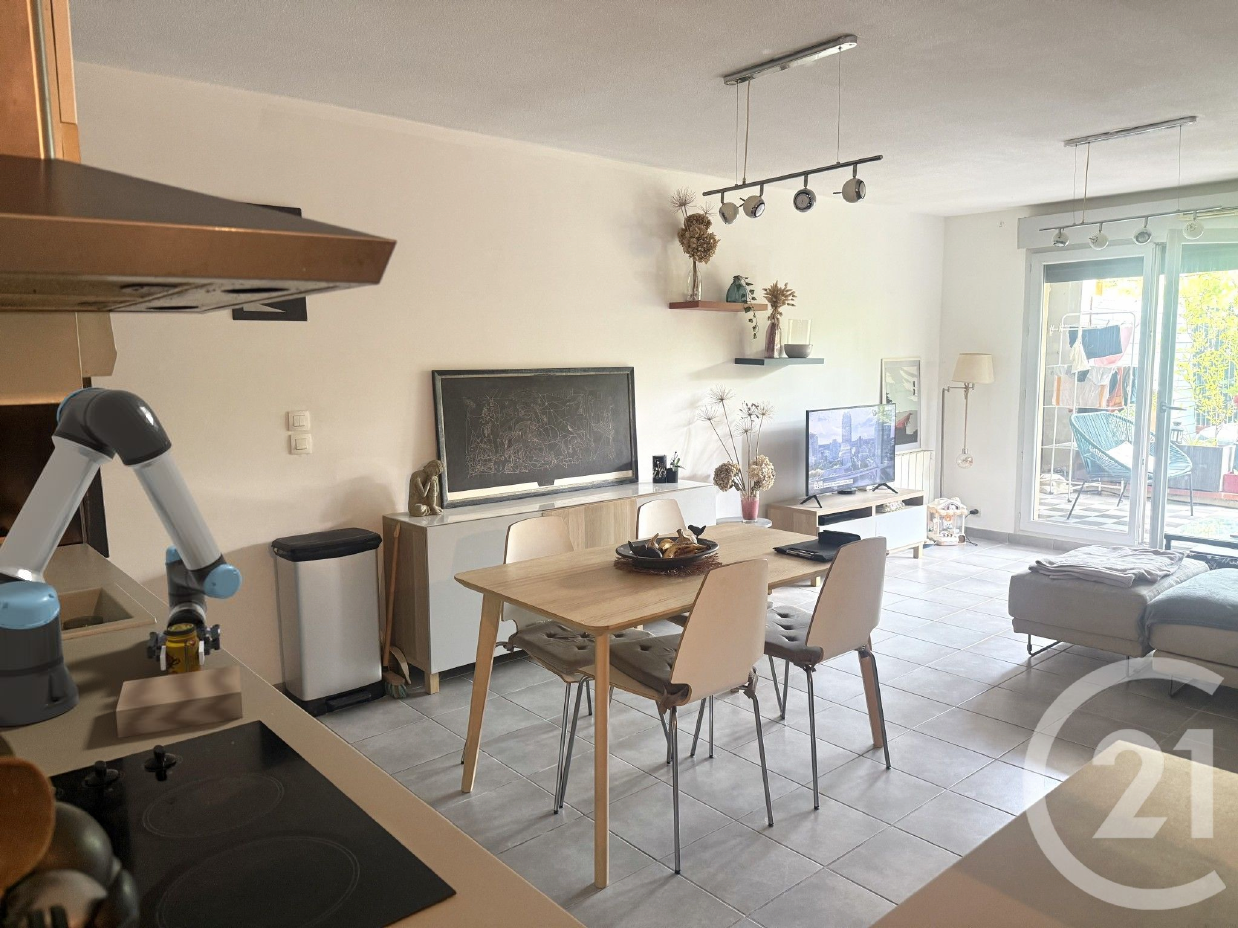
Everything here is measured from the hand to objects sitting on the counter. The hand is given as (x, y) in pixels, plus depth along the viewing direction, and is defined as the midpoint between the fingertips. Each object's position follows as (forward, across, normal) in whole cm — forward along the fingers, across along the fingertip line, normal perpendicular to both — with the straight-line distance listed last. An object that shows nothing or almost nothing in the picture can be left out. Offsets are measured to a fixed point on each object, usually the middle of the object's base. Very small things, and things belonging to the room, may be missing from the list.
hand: (182, 660), depth 170 cm
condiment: (-5, -1, -7) cm, 8 cm away
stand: (+10, 0, -6) cm, 12 cm away
